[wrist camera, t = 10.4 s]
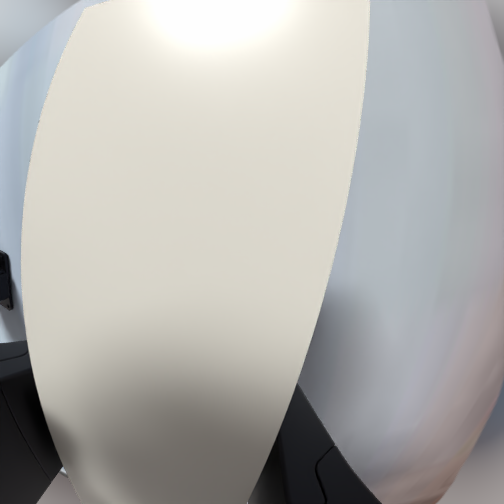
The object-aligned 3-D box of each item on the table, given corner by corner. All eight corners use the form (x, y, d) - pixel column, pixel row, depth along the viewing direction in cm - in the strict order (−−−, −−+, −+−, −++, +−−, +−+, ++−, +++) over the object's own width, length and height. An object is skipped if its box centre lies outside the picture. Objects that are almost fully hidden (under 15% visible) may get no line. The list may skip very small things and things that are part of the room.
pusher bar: (156, 443, 11) (99, 532, 5) (199, 110, 8) (84, 8, 2) (238, 468, 10) (207, 573, 4) (324, 129, 8) (370, 0, 2)
